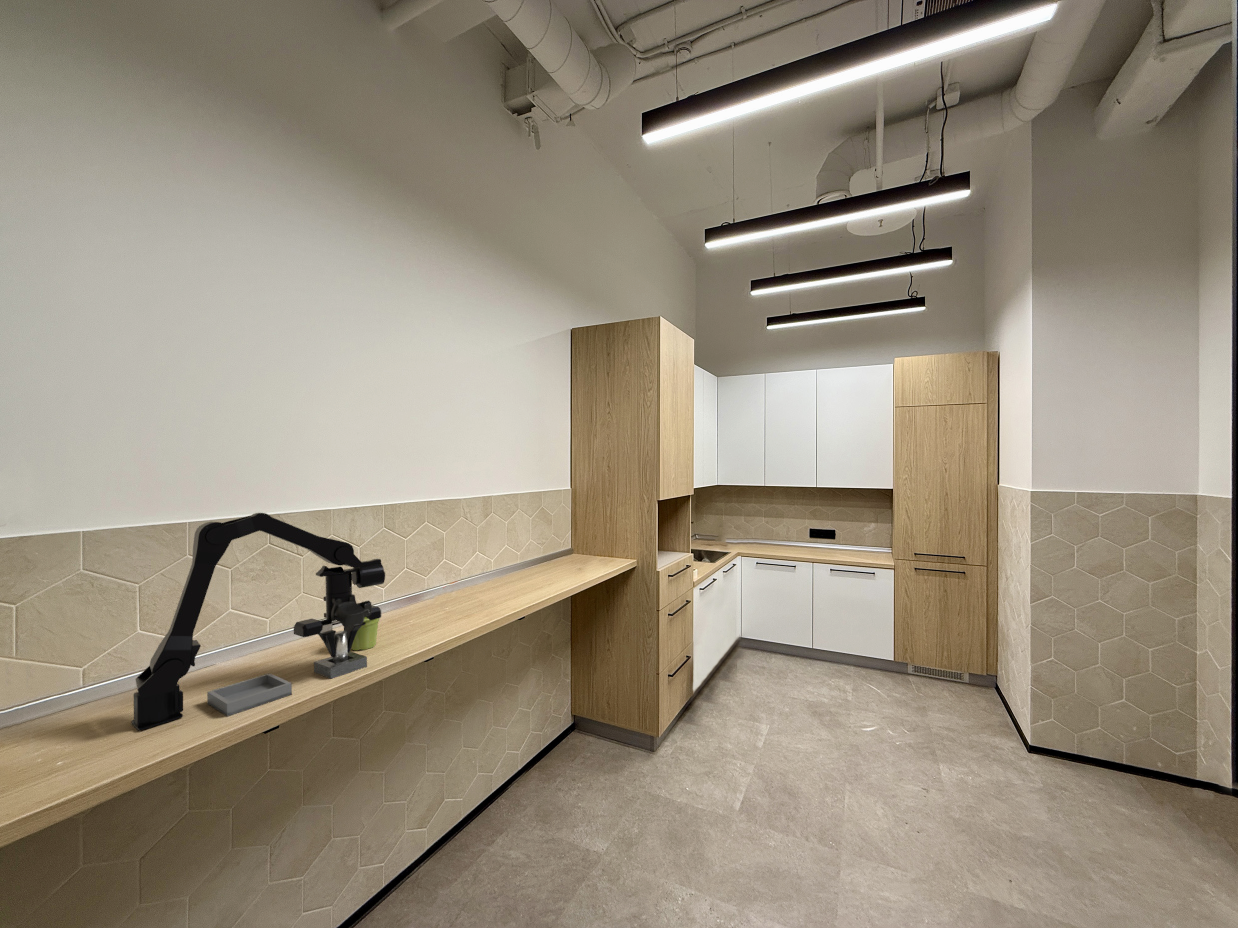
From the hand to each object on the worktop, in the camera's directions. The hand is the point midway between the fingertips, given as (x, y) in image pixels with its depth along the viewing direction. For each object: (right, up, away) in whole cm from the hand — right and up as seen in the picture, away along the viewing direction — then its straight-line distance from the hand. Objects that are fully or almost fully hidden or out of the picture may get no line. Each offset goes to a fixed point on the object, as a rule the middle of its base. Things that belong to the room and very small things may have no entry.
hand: (340, 654), depth 122 cm
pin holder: (0, -4, 0) cm, 4 cm away
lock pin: (0, -4, 0) cm, 4 cm away
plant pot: (-3, -5, +17) cm, 17 cm away
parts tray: (-11, -4, -16) cm, 19 cm away
